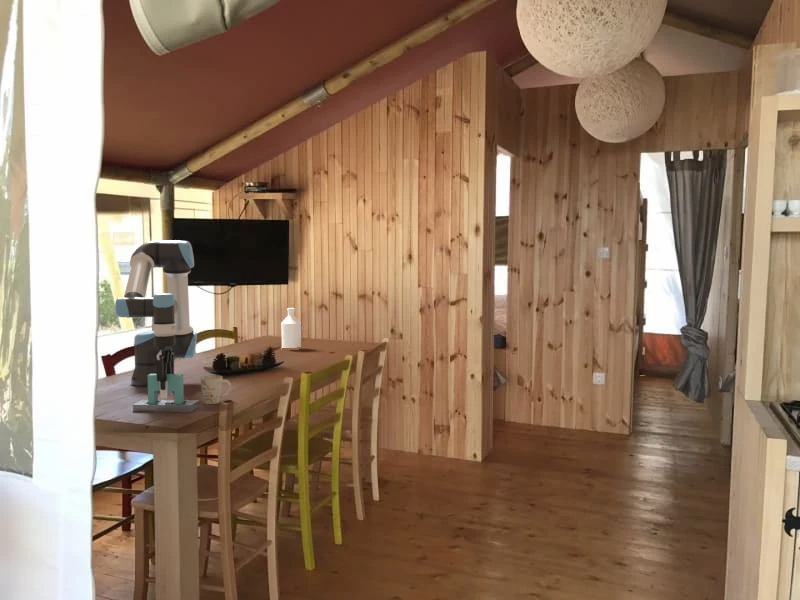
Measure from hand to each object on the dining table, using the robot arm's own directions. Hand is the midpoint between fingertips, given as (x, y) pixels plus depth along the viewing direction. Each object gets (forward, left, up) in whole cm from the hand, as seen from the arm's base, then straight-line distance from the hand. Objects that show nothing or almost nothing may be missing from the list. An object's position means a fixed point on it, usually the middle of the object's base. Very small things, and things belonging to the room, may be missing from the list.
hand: (166, 396), depth 244 cm
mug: (+15, +13, -5) cm, 20 cm away
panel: (0, 0, -3) cm, 3 cm away
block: (0, 0, -5) cm, 5 cm away
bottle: (+16, +149, -5) cm, 150 cm away
